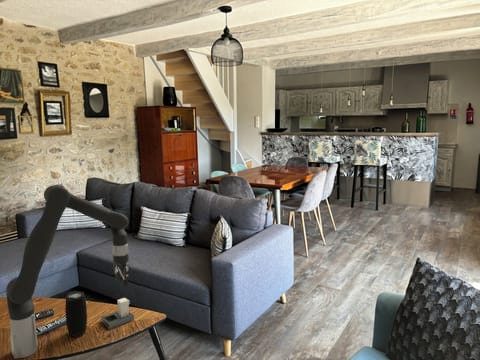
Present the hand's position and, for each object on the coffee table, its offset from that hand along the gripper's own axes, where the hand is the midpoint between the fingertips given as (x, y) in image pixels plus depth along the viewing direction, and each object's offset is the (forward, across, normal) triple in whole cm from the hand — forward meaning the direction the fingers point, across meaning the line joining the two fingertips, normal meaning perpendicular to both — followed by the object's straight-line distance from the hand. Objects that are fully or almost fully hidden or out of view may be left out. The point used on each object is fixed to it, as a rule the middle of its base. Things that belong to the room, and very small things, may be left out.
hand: (122, 283), depth 185 cm
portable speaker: (+19, -2, -22) cm, 29 cm away
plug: (+19, 0, 0) cm, 19 cm away
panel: (+19, 0, -3) cm, 19 cm away
